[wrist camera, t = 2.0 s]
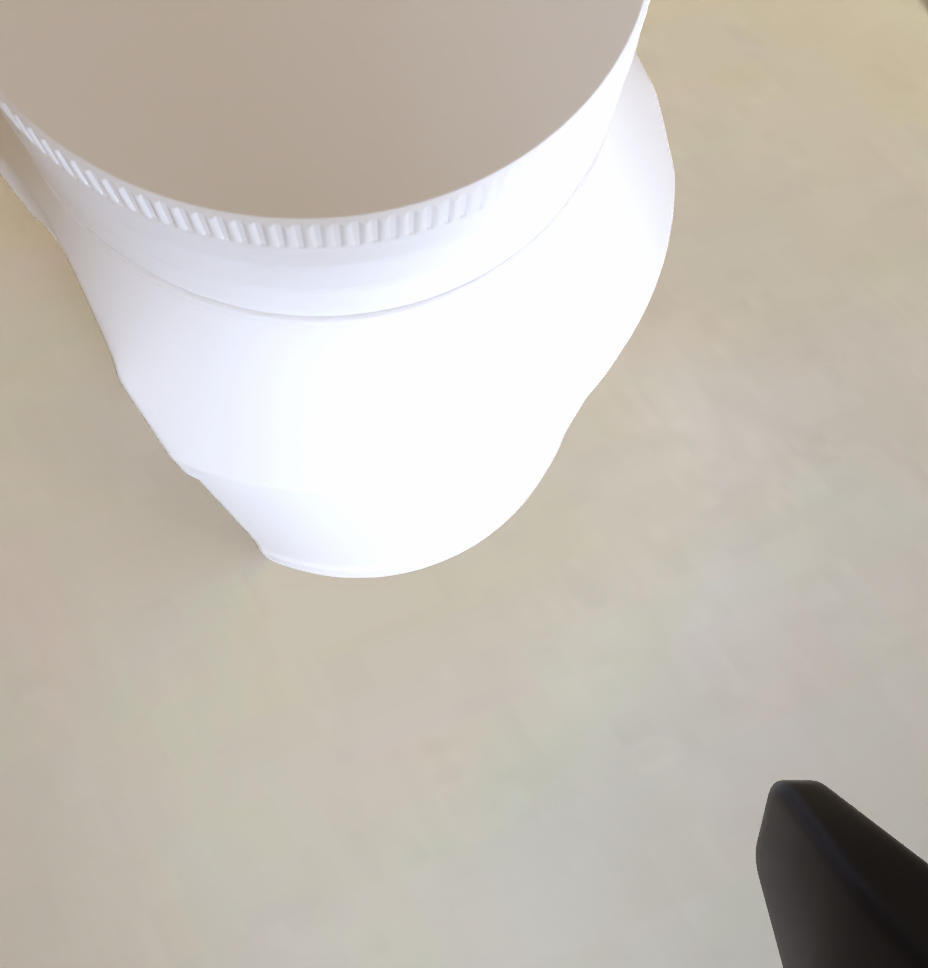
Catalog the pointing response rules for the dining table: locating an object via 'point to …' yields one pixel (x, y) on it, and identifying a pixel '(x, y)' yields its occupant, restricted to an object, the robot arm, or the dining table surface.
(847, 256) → the dining table surface
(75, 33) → the jar
